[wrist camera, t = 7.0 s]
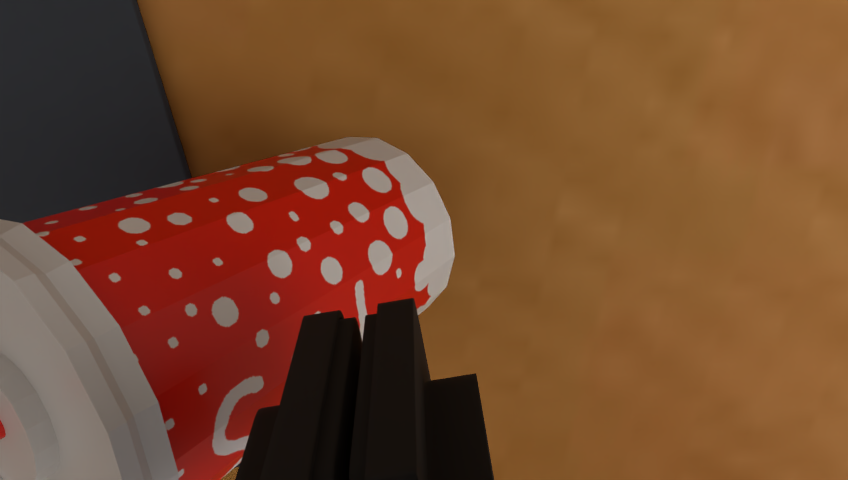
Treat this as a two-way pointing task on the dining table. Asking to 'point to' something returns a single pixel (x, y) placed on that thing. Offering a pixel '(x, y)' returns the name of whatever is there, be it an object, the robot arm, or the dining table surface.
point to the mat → (80, 108)
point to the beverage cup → (198, 305)
